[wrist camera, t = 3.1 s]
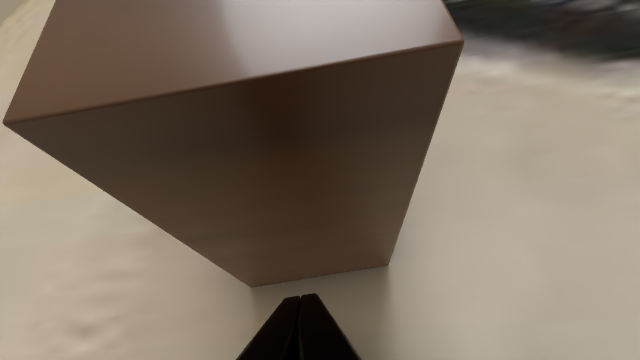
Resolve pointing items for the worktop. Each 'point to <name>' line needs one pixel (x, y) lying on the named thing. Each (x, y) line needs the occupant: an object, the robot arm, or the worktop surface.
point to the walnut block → (247, 120)
